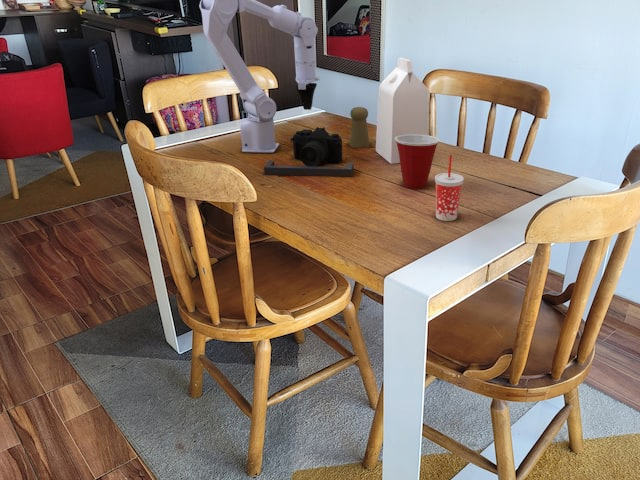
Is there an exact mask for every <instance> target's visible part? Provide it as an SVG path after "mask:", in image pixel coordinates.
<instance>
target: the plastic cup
mask: <svg viewBox="0 0 640 480" xmlns="http://www.w3.org/2000/svg"><path fill="white" fill-rule="evenodd" d="M395 141H396V143H397V147H398V152H399V159H400V163H399V166H400V173H401V178H402V183H403V186H404V187H406V188H407V189H414V190H418V189H419V190H420V189H424V188H425V187H427V185H428V181H429V177H430V173H431V170H432V165H433V162H434V156H435V153H436V149H437V146H438V144H439V143H440V138H438V137H437V136H432V135H430V134H429V135H419V134H407V135H399V136H397V137H395Z"/></svg>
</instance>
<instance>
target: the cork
mask: <svg viewBox="0 0 640 480" xmlns="http://www.w3.org/2000/svg"><path fill="white" fill-rule="evenodd" d="M349 115H350V118H351V129H350V137H349V146H350V147H351V148H358V149H361V148H367V147H369V146H370V145H371V144H370V137H369V129H368V123H367V119H368V117H369V111H368V108H366V107H364V106H356V107H352V108H351V109H350V114H349Z"/></svg>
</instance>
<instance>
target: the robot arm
mask: <svg viewBox="0 0 640 480" xmlns="http://www.w3.org/2000/svg"><path fill="white" fill-rule="evenodd" d="M198 6H199V9H200V12H201V19H202V30H203V35H204V36H205V38H206V40H207V42H208V43H209V45H210V46H211V48H212V49H213V51H214V52H215V54H216V55H217V58H218V59H219V61H220V62H221V64H222V65H223V67H224V69H225V70H226V72H227V73H228V75H229V77H230V78H231V80H232V81H233V83H234V84H235V86H236V87H237V90H239V97H240V99H241V101H242V106H243V110H244V111H245V112H246V113H247V117H246V118H242V119H241V120H240V123H239V124H240V126H239V130H240V131H239V132H240V140H241V147H242V148H241V149H242V150H241V152H242V153H262V154H263V153H269V154H273V153H275V152H276V150H277V149H278V147H279V146H280V143H279V142H276V135H275V134H276V133H275V123H274V117H275V115H276V113H277V104H276V102H275V101H274V99H272V98H271V97H269V96H268V95H267V93H266V92H265V91H264V89H262V88H261V86H260V85H259V84H258V83H257V81H256V80H255V78H254V77H253V74H251V73H252V72H250V70H249V68H248V67H247V65H246V63H245V62H244V60H243V58H242V57H241V55H240V53H239V52H238V50H237V48H236V46H235V45H234V43H233V42H232V40H231V38H230V37H229V35H228V28H229V25H230V23H231V21H232V20H233V18H234V17H235V15H236V13H237V14H238V13H239V14H241V13H242V12H246V13H249V14H252V15H254V16H257V17H260V18H262V19H264V20H267V22H268V23H269V26H271V27H272V28H273V29H276V30H279V31H281V32H283V33H285V34H286V33H287V34H289V35H291V36H292V37H293V43H294V44H293V48H294V63H295V82H296V83H297V84H296V85H295V89H296V91H297V93H298V95H299V98H300V101H301V104H302V108H303V110H306V111H307V110H308V111H309V110H310V111H311V110H312V108H313V101H314V94H315V91H316V88H317V85H318V84H317V82H318V81H320V80H321V77H320V76H317V75H316V54H315V53H316V52H315V43H316V41H315V40H316V37H317V34H318V32H319V27H317V24H316V21H314V19H313V18H311V17H306V16H303V15H302V13H301V12H299V11H296V12H295V11H292V10H290V9H288V6H287V5H284V4H280V5H279V4H278V5H277V4H276V5H274V6H272V7H270V6H269V5H267V4H264V3H262V2H260V1H258V0H200V1H199V5H198Z"/></svg>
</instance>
